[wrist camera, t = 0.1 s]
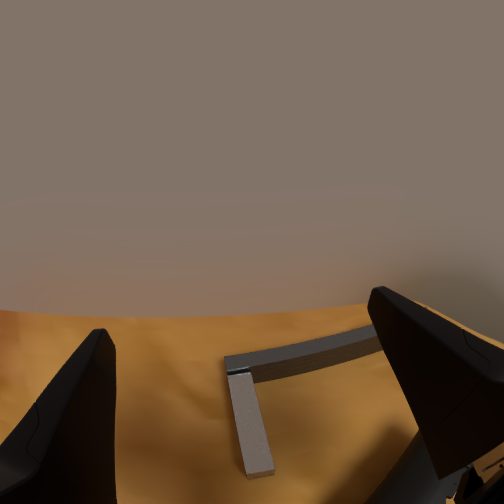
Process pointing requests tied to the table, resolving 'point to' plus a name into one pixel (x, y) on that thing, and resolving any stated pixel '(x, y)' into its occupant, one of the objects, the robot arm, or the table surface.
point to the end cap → (416, 479)
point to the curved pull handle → (279, 366)
